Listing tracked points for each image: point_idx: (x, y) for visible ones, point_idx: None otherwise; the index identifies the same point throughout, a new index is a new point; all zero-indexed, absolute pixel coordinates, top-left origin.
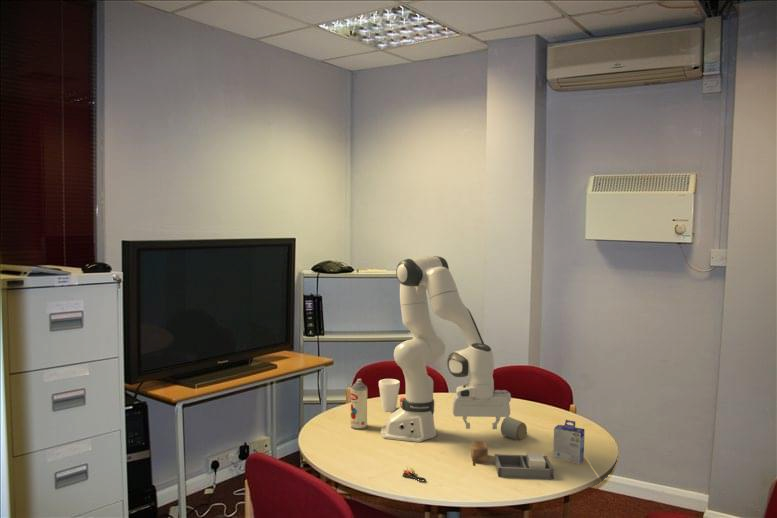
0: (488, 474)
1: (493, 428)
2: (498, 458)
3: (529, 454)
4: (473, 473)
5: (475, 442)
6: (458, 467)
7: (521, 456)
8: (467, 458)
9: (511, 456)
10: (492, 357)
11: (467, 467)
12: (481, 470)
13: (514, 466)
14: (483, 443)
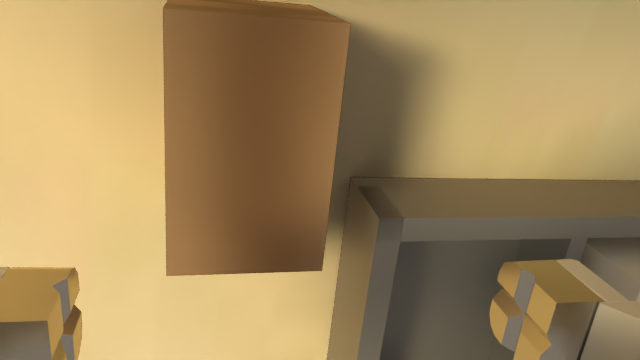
0: (274, 328)
1: (502, 330)
2: (387, 303)
3: None
4: (166, 328)
5: (211, 64)
6: (40, 241)
7: (580, 244)
8: (128, 36)
9: (507, 237)
10: None
11: (122, 234)
12: (233, 274)
13: (482, 242)
14: (310, 95)
